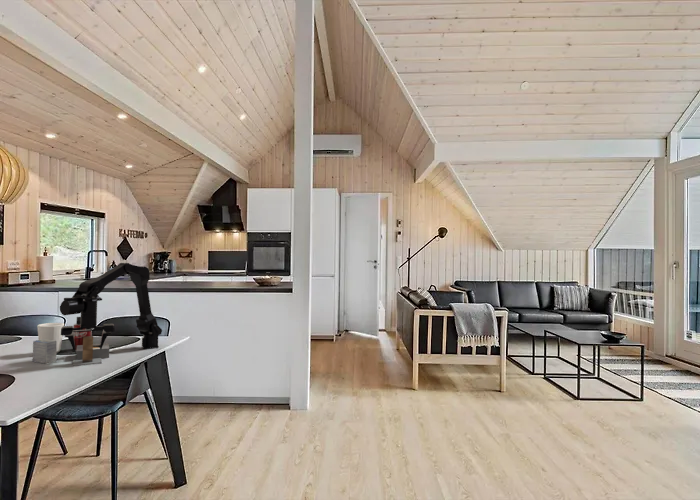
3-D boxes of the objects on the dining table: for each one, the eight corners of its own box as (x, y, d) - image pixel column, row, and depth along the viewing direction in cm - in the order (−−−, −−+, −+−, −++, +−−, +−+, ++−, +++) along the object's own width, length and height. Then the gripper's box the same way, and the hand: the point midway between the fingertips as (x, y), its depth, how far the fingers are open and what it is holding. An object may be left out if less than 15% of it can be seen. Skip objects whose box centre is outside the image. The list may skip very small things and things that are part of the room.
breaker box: (107, 351, 195) (108, 342, 195) (109, 357, 184) (109, 348, 184) (76, 354, 188) (76, 345, 188) (76, 360, 178) (76, 350, 178)
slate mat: (101, 358, 182) (101, 357, 182) (101, 363, 175) (101, 362, 175) (73, 361, 177) (73, 360, 177) (72, 366, 170) (72, 365, 170)
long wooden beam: (92, 360, 178) (93, 336, 178) (92, 361, 175) (93, 337, 176) (82, 360, 177) (83, 336, 177) (82, 362, 174) (83, 338, 174)
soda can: (82, 351, 194) (83, 325, 194) (68, 350, 195) (69, 324, 195) (94, 348, 201) (95, 322, 201) (81, 347, 202) (82, 322, 202)
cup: (49, 356, 184) (50, 326, 184) (30, 354, 186) (31, 325, 186) (68, 351, 194) (69, 323, 194) (50, 350, 196) (51, 322, 196)
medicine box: (56, 361, 177) (57, 340, 177) (45, 363, 172) (46, 342, 172) (43, 359, 179) (43, 338, 179) (32, 361, 175) (32, 340, 175)
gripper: (113, 308, 188) (112, 344, 188) (62, 310, 178) (61, 348, 178) (115, 312, 178) (114, 349, 178) (61, 314, 169) (60, 354, 169)
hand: (87, 350), depth 176 cm, fingers open, 9 cm apart
